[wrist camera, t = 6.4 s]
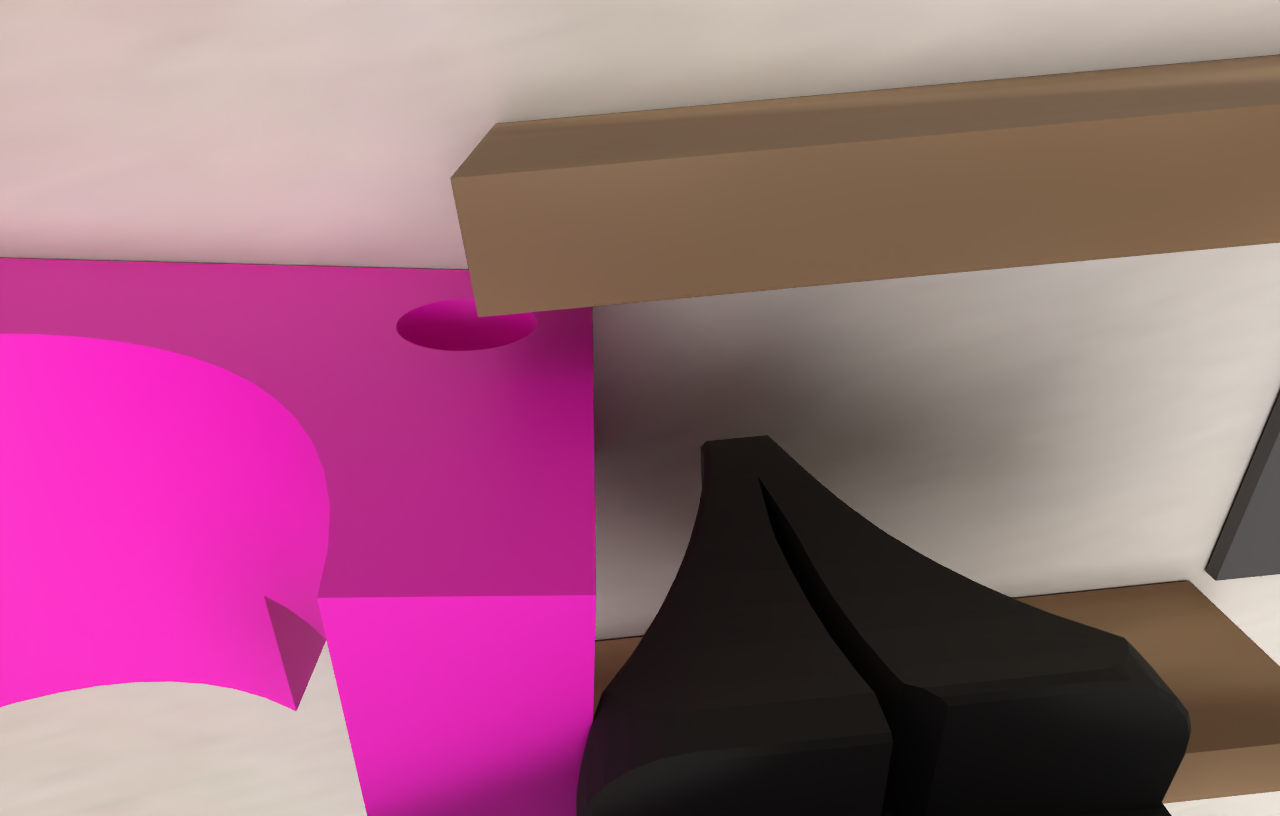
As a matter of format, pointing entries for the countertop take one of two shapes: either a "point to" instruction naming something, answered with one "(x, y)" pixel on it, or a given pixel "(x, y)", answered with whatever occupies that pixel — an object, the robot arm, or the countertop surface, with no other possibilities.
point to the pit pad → (1254, 515)
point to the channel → (914, 258)
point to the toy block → (309, 509)
